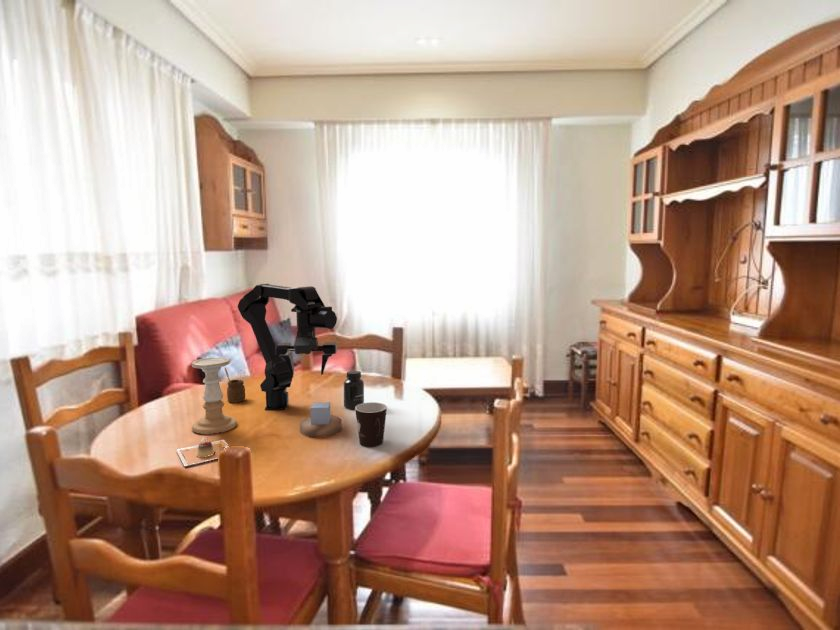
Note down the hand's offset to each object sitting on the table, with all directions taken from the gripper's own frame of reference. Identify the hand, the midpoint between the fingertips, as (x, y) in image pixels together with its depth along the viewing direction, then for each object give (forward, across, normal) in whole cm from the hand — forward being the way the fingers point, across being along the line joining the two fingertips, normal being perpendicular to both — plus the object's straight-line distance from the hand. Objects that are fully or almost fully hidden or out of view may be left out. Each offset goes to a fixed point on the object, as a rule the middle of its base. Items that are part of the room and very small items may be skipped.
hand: (307, 374), depth 151 cm
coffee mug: (+13, +21, -26) cm, 36 cm away
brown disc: (+13, +6, -14) cm, 20 cm away
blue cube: (+10, +6, -14) cm, 18 cm away
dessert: (+14, -21, -29) cm, 39 cm away
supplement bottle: (+13, +14, +7) cm, 20 cm away
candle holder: (+13, -26, -10) cm, 31 cm away
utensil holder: (+13, -28, +16) cm, 35 cm away
